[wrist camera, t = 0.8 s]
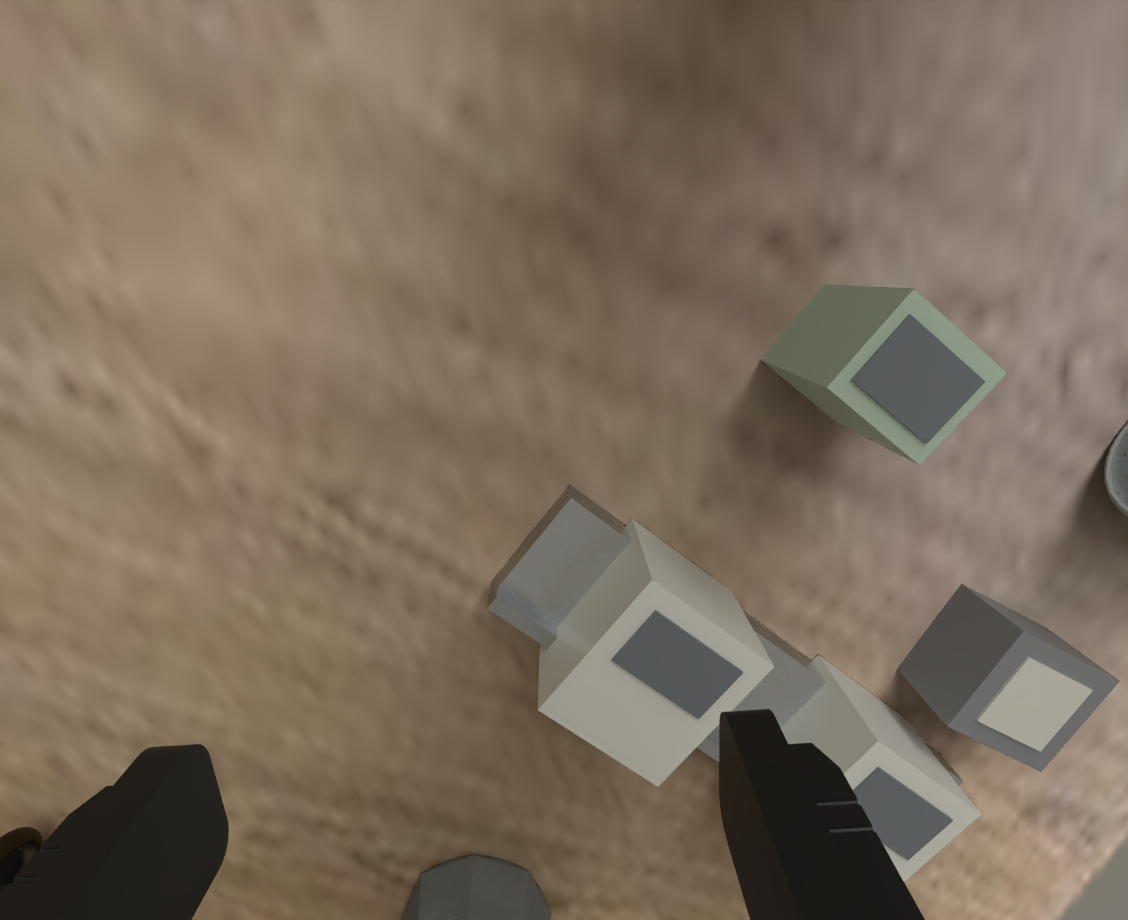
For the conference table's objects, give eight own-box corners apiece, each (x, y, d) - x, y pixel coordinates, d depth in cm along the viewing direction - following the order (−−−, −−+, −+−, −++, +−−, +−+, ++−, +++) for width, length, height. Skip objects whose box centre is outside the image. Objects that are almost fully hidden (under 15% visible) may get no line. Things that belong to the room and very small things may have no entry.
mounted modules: (632, 518, 34) (653, 581, 27) (904, 718, 38) (983, 817, 31) (539, 627, 36) (537, 712, 29) (809, 808, 40) (864, 920, 33)
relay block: (960, 582, 36) (1025, 632, 31) (1045, 627, 37) (1122, 682, 32) (895, 667, 37) (948, 728, 32) (979, 708, 38) (1043, 774, 33)
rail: (569, 484, 34) (571, 504, 31) (942, 755, 39) (974, 795, 36) (491, 580, 35) (486, 608, 32) (861, 830, 40) (885, 873, 37)
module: (823, 284, 31) (916, 288, 23) (897, 348, 32) (1009, 373, 24) (760, 359, 32) (828, 388, 24) (833, 420, 33) (921, 466, 25)
